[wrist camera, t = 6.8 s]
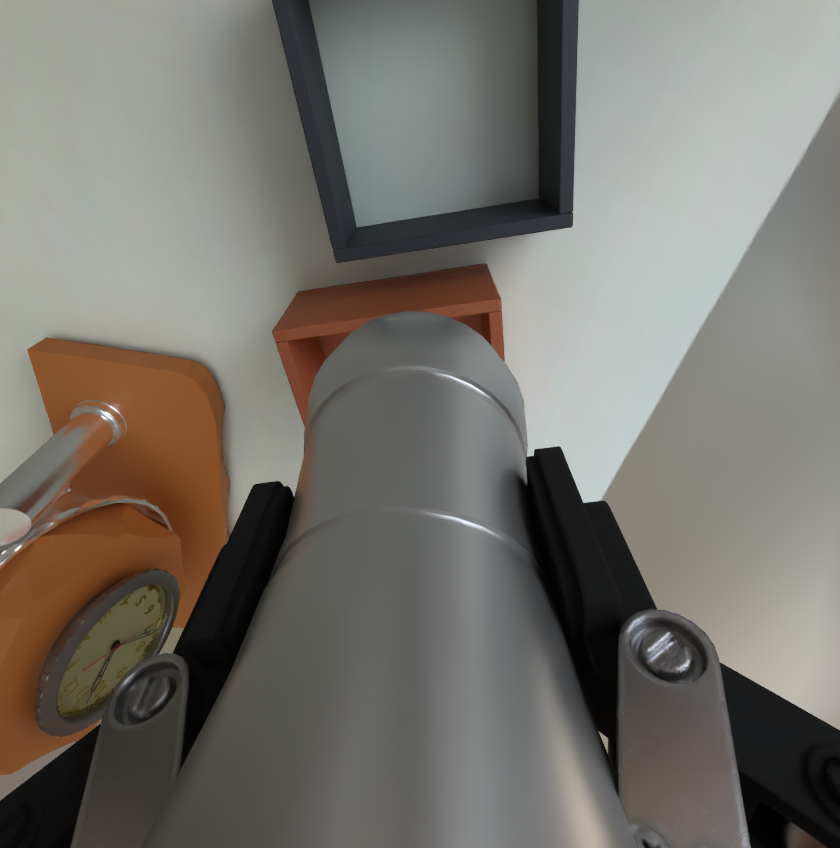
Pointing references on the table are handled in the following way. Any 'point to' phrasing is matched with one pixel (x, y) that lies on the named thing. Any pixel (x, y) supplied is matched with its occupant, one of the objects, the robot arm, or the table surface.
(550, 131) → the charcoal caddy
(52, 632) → the desk clock
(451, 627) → the metal bottle
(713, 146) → the table surface
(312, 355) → the terracotta bin
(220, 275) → the table surface
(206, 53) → the table surface
